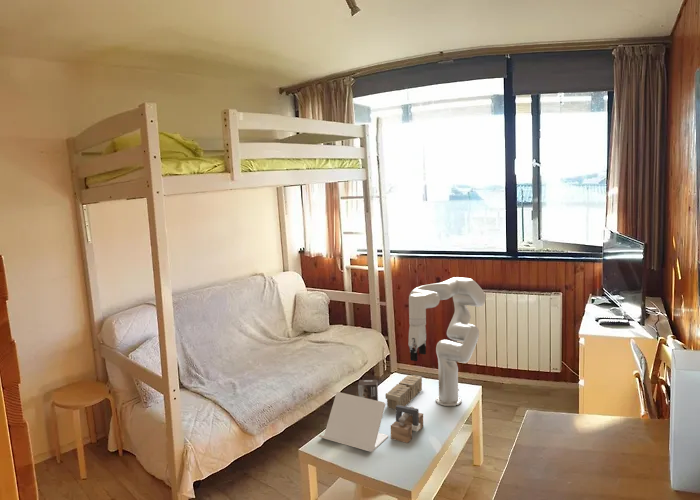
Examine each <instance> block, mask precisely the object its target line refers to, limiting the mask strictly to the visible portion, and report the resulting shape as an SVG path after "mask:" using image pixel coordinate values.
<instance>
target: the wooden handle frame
mask: <svg viewBox="0 0 700 500" xmlns="http://www.w3.org/2000/svg"><path fill="white" fill-rule="evenodd" d="M410 407H411V408H415V407H414V406H410ZM399 422H400V423H399ZM399 422H395V421H394V422H393V423H392V424H391V425H390V439H391V440H394V441H398V442H402V443H406V444H408V443H410V441H411V440H412V439H413V430H412V424H413V414H409V413H404V412H403V413H402V416H401V417H400V418H399ZM419 423H420V429H419V430H418V431H421V429H422V428H424V413H421V412H419Z"/></svg>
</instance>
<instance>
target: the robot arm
mask: <svg viewBox="0 0 700 500" xmlns="http://www.w3.org/2000/svg"><path fill="white" fill-rule="evenodd" d="M408 295H409V296H408V315H409V316H408V318H409V319H408V322H409V323H408V324H409V328H408V347H409V353H410V355H409V356H410V361H414V362H417V361H418V354H420V355H424V356H425V355H426V354H427V343H426V342H427V329H426V325H427V309H432V308H436V307H437V306H439V304H440V301H443V300H445V301H446V300H449V299H450V298H452V301H453V306H454V313H453V315H452V318H451V321H450V322H449V324H448V327H447V330H446V336H447V338H448V339H445V338H444V339H441V340H439V341H437V343H436V347H435V353H436V356H437V363H438V395H437V396H436V397H435V401H436V403H437V404H438V405H440V406H442V407H456V405H457V406H460V404H461V403H462V398H461V396H459V392H460V389H459V367H458V364H457V363H460V364H461V363H462V364H467V363H468V362H469V361H470V359H471V358H472V355H473V354H474V351H475V348H476V345H477V343H478V340H479V338H480V330H479V327H478V326H477V325H475V324H472V323H470V321H471V318H472V316H471V312H470V310H469V307H468V306H471V307H477V308H478V307H479V308H480V307H482V306H484V304H485V303H486V299H487V298H486V297H487V296H486V293H485V291H484V290H483V289H482V287H481V286H480V285H479V284H478V283H477V282H476V281H475V280H473V279H472V278H469V277H459V276H456V277H455V276H453V277H451V278H449V279H446V280H444V281H441V282H436V283H430V284H424V285H420V286H417V287H415V288H414V289H412V290H411V291H410V293H409V294H408ZM417 351H418V352H417Z"/></svg>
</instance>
